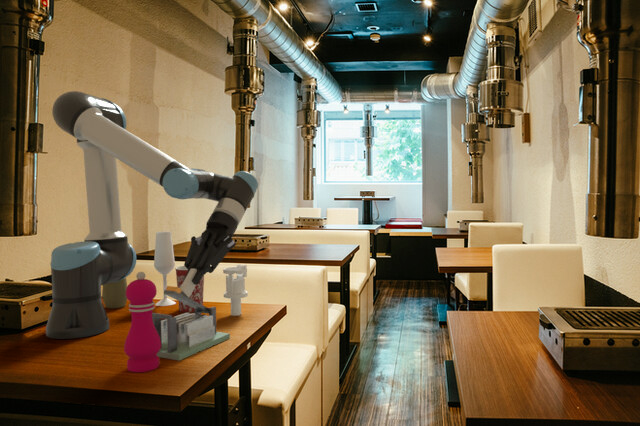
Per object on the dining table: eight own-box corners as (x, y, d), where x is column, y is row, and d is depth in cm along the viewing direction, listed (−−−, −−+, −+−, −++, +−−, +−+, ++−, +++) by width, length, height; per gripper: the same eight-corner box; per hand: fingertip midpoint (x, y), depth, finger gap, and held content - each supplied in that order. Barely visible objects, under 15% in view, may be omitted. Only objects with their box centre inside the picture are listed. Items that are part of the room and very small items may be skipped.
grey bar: (201, 313, 122) (203, 304, 123) (210, 314, 121) (213, 305, 122) (162, 294, 111) (166, 285, 112) (172, 295, 109) (176, 286, 110)
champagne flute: (168, 306, 159) (166, 232, 158) (150, 305, 161) (148, 232, 160) (180, 301, 165) (178, 231, 164) (162, 301, 167) (160, 231, 166)
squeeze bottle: (134, 305, 161) (132, 251, 160) (112, 310, 154) (110, 253, 153) (118, 303, 165) (117, 250, 164) (96, 308, 158) (95, 252, 157)
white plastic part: (242, 317, 142) (241, 266, 141) (220, 316, 144) (218, 266, 143) (251, 312, 149) (250, 263, 148) (230, 311, 151) (229, 262, 150)
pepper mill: (165, 360, 105) (163, 268, 105) (155, 373, 98) (153, 274, 97) (132, 361, 105) (129, 269, 104) (119, 374, 98) (116, 275, 97)
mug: (205, 312, 150) (204, 268, 149) (174, 313, 148) (173, 269, 148) (207, 303, 162) (206, 263, 162) (179, 304, 161) (178, 264, 160)
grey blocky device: (193, 330, 124) (193, 299, 124) (222, 334, 120) (221, 301, 120) (146, 348, 110) (145, 312, 110) (176, 353, 106) (175, 316, 106)
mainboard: (195, 333, 126) (195, 328, 126) (229, 338, 122) (229, 333, 121) (141, 354, 110) (141, 348, 110) (179, 360, 105) (178, 355, 105)
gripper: (251, 228, 128) (213, 305, 114) (212, 228, 134) (171, 301, 120) (239, 209, 123) (197, 286, 109) (198, 209, 129) (154, 283, 115)
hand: (183, 294), depth 114 cm, fingers closed
